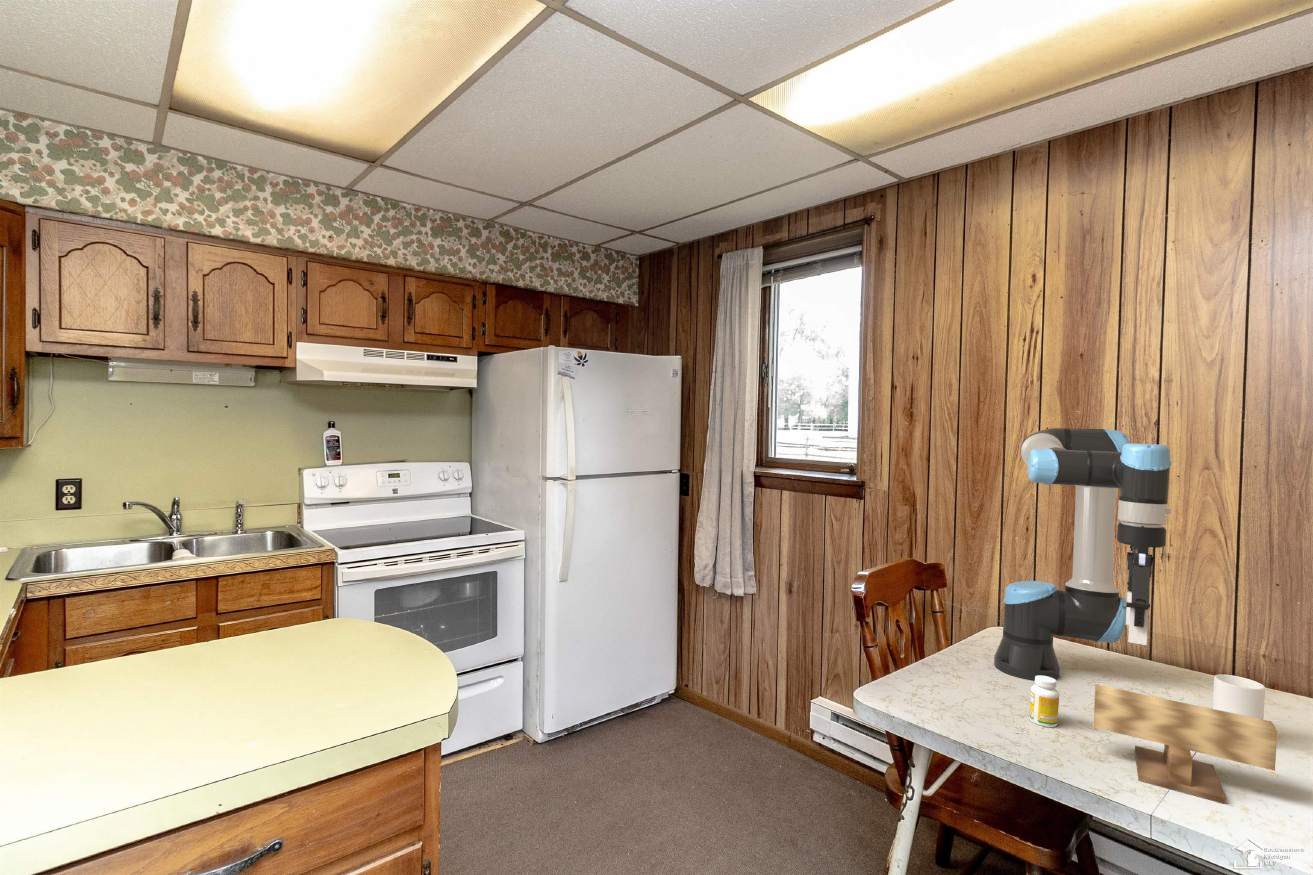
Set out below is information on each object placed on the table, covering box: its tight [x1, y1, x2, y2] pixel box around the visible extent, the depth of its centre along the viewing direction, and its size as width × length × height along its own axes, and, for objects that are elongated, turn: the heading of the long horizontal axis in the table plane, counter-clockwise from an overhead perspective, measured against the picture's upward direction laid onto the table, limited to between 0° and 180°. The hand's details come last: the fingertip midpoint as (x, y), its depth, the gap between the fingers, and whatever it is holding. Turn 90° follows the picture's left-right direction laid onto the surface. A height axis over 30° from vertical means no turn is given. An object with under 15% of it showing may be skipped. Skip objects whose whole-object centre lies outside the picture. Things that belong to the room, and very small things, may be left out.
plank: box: [1093, 683, 1278, 771], centre depth 122 cm, size 26×4×7 cm, turn 56°
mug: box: [1212, 674, 1266, 720], centre depth 140 cm, size 12×8×12 cm
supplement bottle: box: [1028, 675, 1060, 728], centre depth 142 cm, size 5×5×10 cm
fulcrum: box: [1134, 744, 1226, 805], centre depth 122 cm, size 12×14×6 cm
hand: (1135, 634), depth 126 cm, fingers open, 13 cm apart
